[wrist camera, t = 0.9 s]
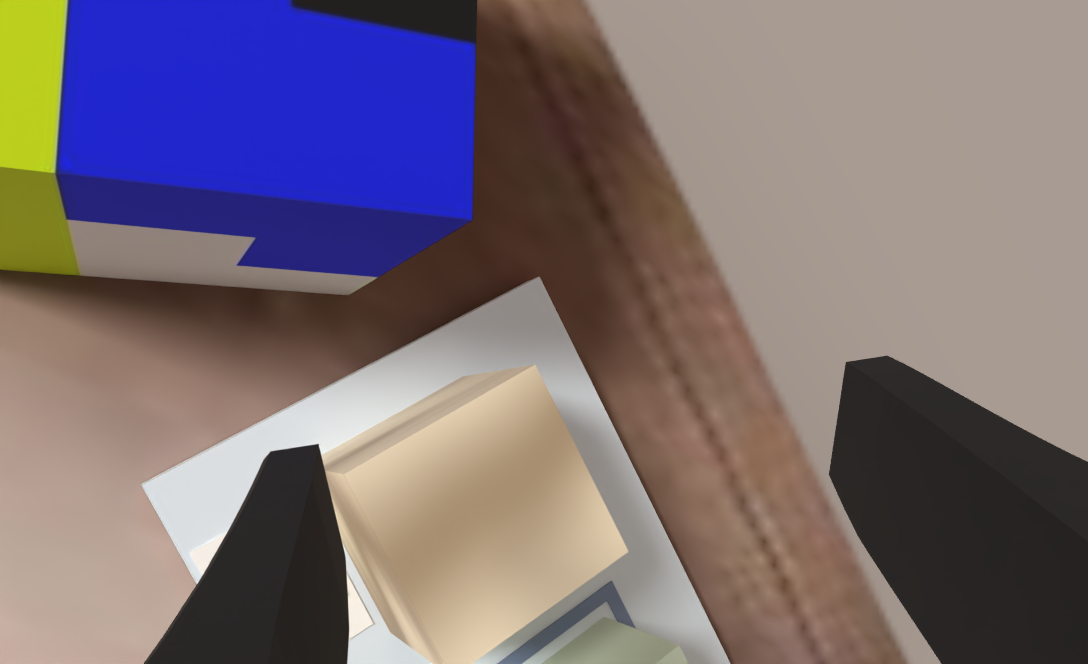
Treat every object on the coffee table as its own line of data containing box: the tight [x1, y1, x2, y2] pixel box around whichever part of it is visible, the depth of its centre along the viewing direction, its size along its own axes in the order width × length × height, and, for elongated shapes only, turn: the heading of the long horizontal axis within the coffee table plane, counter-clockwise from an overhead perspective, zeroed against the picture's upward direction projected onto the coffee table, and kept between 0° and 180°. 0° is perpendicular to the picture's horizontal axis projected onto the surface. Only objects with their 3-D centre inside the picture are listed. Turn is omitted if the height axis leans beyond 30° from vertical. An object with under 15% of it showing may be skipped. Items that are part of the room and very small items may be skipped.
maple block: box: [321, 365, 629, 664], centre depth 23 cm, size 5×5×5 cm
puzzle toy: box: [0, 0, 477, 295], centre depth 20 cm, size 10×10×10 cm
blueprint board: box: [141, 277, 730, 664], centre depth 26 cm, size 18×12×1 cm, turn 29°
